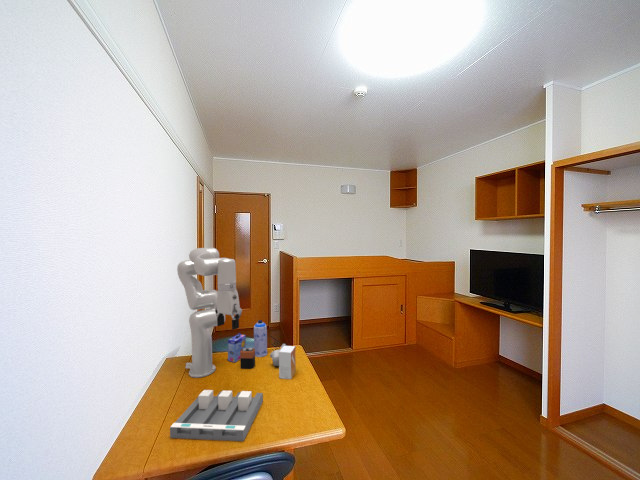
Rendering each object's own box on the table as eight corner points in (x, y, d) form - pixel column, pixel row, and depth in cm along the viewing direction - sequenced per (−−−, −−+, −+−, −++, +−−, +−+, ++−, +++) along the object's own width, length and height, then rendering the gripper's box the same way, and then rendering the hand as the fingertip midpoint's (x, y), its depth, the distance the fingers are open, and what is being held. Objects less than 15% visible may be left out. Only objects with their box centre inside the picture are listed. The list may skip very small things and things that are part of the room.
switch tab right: (238, 410, 103) (238, 396, 103) (242, 404, 107) (241, 391, 107) (248, 410, 103) (248, 397, 103) (251, 404, 107) (251, 391, 107)
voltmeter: (296, 366, 141) (296, 348, 141) (276, 373, 135) (276, 353, 135) (275, 350, 163) (275, 333, 163) (257, 354, 157) (257, 338, 157)
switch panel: (170, 437, 92) (170, 426, 92) (203, 399, 114) (203, 390, 114) (243, 441, 89) (243, 429, 89) (262, 401, 111) (262, 392, 111)
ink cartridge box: (235, 362, 147) (235, 336, 147) (227, 361, 149) (226, 335, 149) (246, 355, 156) (245, 330, 156) (238, 354, 158) (238, 329, 158)
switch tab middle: (218, 409, 104) (218, 396, 104) (222, 403, 108) (222, 390, 108) (228, 410, 103) (228, 396, 103) (232, 403, 107) (232, 390, 107)
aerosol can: (270, 352, 159) (269, 319, 159) (262, 358, 152) (261, 323, 152) (259, 350, 163) (258, 317, 163) (251, 355, 155) (250, 321, 155)
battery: (252, 369, 139) (252, 350, 139) (240, 369, 140) (239, 350, 140) (255, 365, 144) (255, 346, 144) (243, 365, 144) (242, 346, 144)
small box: (291, 379, 128) (291, 352, 128) (278, 378, 129) (278, 351, 129) (296, 371, 136) (295, 346, 136) (284, 370, 137) (283, 345, 137)
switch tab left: (198, 409, 104) (198, 395, 104) (204, 402, 108) (203, 389, 108) (208, 409, 104) (208, 395, 104) (213, 403, 108) (213, 390, 108)
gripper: (247, 287, 114) (248, 327, 114) (221, 284, 123) (222, 321, 123) (233, 290, 107) (234, 332, 107) (207, 287, 117) (208, 326, 117)
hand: (228, 326), depth 115 cm, fingers open, 9 cm apart
